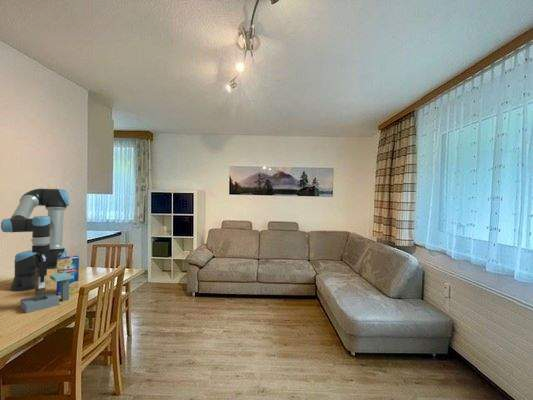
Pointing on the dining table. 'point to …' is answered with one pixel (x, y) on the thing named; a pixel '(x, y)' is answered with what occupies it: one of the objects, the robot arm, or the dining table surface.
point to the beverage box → (70, 267)
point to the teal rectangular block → (62, 284)
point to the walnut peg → (37, 291)
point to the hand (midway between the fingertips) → (40, 286)
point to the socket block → (39, 302)
